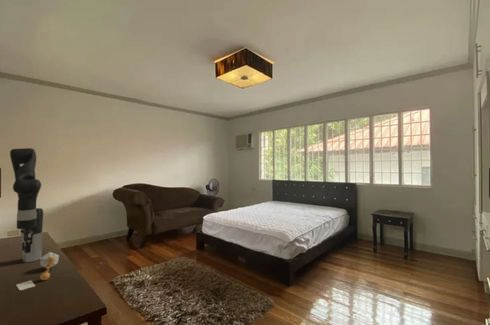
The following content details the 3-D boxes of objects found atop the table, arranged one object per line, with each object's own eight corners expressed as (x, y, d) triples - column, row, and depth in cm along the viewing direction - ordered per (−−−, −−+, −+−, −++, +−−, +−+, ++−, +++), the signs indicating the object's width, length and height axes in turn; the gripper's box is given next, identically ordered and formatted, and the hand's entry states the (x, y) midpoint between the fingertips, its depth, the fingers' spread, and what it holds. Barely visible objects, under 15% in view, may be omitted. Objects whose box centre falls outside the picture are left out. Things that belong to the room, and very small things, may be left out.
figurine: (37, 279, 127) (38, 256, 128) (51, 275, 132) (52, 253, 133) (42, 283, 123) (43, 260, 123) (56, 279, 127) (57, 256, 128)
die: (48, 272, 136) (48, 254, 136) (35, 271, 137) (36, 253, 138) (62, 266, 144) (62, 249, 144) (50, 265, 146) (50, 248, 146)
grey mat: (16, 285, 121) (16, 284, 121) (31, 280, 126) (31, 280, 126) (19, 290, 115) (19, 290, 115) (35, 286, 120) (35, 285, 120)
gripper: (14, 217, 123) (13, 250, 122) (19, 221, 114) (19, 256, 113) (33, 215, 129) (32, 246, 128) (40, 218, 120) (39, 252, 119)
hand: (26, 251), depth 121 cm, fingers open, 5 cm apart
